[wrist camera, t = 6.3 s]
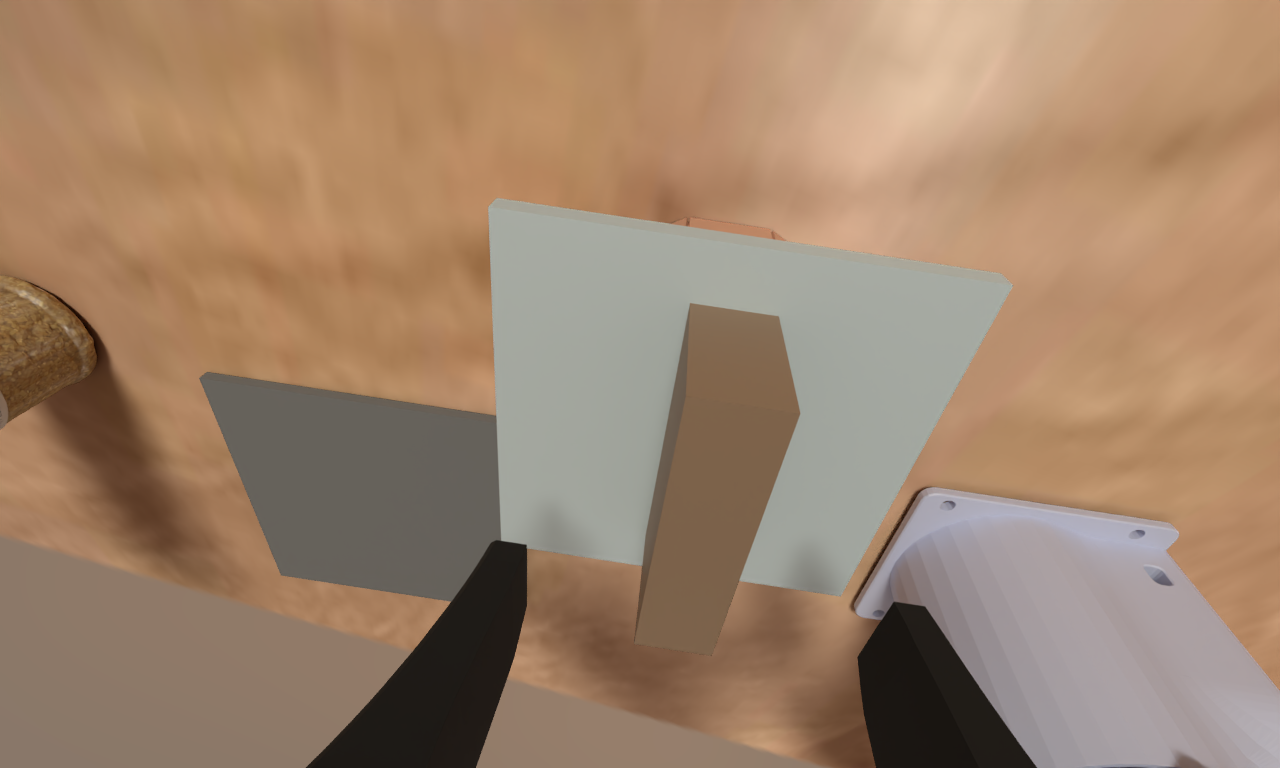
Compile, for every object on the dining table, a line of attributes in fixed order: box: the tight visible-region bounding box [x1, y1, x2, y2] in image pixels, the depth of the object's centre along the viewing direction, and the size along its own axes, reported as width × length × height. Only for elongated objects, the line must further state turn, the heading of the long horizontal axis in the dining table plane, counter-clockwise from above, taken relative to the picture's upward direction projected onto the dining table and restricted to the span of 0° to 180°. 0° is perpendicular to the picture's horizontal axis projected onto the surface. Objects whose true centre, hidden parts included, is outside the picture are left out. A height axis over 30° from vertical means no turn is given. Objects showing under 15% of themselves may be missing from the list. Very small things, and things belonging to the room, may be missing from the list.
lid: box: [488, 198, 1013, 656], centre depth 14 cm, size 11×11×4 cm
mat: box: [199, 372, 501, 602], centre depth 25 cm, size 12×12×1 cm
